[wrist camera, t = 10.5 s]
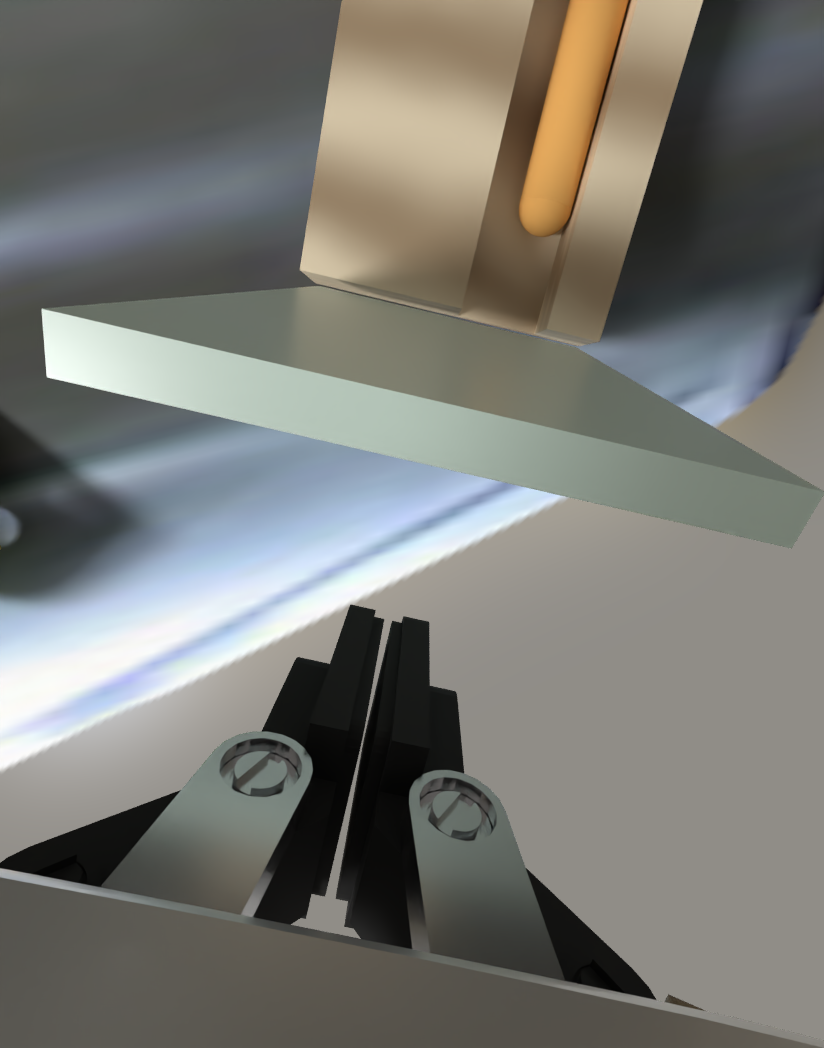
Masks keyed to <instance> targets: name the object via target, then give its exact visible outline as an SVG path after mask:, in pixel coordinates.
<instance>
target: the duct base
mask: <svg viewBox="0 0 824 1048" xmlns="http://www.w3.org/2000/svg"><path fill="white" fill-rule="evenodd" d="M569 1H570V0H342V3H341V10H340V16H339V23H338V29H337V35H336V42H335V48H334V55H333V61H332V67H331V74H330V80H329V87H328V93H327V99H326V106H325V112H324V119H323V125H322V131H321V138H320V144H319V151H318V157H317V163H316V170H315V176H314V183H313V189H312V195H311V202H310V208H309V215H308V221H307V227H306V234H305V240H304V246H303V253H302V259H301V266H300V270H301V271H302V272H303V273H304V274H305V275H307V276H308V277H309V278H310V279H311V280H312V281H314V282H315V283H317V284H321V285H325V286H329V287H333V288H338V289H342V290H346V291H350V292H354V293H359V294H363V295H367V296H371V297H375V298H379V299H384V300H388V301H392V302H396V303H400V304H405V305H409V306H413V307H417V308H421V309H425V310H430V311H434V312H438V313H442V314H446V315H450V316H455V317H459V318H463V319H467V320H471V321H476V322H480V323H484V324H488V325H492V326H496V327H501V328H505V329H509V330H513V331H517V332H522V333H526V334H530V335H534V336H538V337H542V338H547V339H551V340H555V341H559V342H563V343H568V344H572V345H576V346H582V345H586V344H591V343H596V342H600V338H601V335H602V332H603V328H604V325H605V322H606V319H607V315H608V312H609V309H610V305H611V302H612V299H613V296H614V292H615V289H616V286H617V282H618V279H619V276H620V272H621V269H622V266H623V263H624V259H625V256H626V253H627V249H628V246H629V243H630V240H631V236H632V233H633V230H634V226H635V223H636V220H637V217H638V213H639V210H640V207H641V203H642V200H643V197H644V193H645V190H646V187H647V184H648V180H649V177H650V174H651V170H652V167H653V164H654V161H655V157H656V154H657V151H658V147H659V144H660V141H661V138H662V134H663V131H664V128H665V124H666V121H667V118H668V114H669V111H670V108H671V105H672V101H673V98H674V95H675V91H676V88H677V85H678V82H679V78H680V75H681V72H682V68H683V65H684V62H685V59H686V55H687V52H688V49H689V45H690V42H691V39H692V35H693V32H694V29H695V26H696V22H697V19H698V16H699V12H700V9H701V6H702V3H703V0H628V4H627V8H626V11H625V15H624V19H623V22H622V26H621V30H620V33H619V37H618V41H617V45H616V48H615V52H614V56H613V59H612V63H611V67H610V70H609V74H608V78H607V81H606V85H605V89H604V92H603V96H602V100H601V103H600V107H599V111H598V114H597V118H596V122H595V125H594V129H593V133H592V136H591V140H590V144H589V147H588V151H587V155H586V158H585V162H584V166H583V169H582V173H581V177H580V181H579V184H578V188H577V192H576V195H575V199H574V203H573V206H572V210H571V213H570V216H569V219H568V220H567V222H566V224H565V225H564V226H563V227H562V228H561V229H560V230H559V231H558V232H556V233H555V234H553V235H550V236H547V237H537V236H534V235H532V234H530V233H529V232H528V231H526V230H525V228H524V227H523V225H522V223H521V221H520V217H519V203H520V199H521V195H522V191H523V187H524V183H525V179H526V175H527V171H528V167H529V163H530V159H531V155H532V150H533V146H534V142H535V138H536V134H537V130H538V126H539V122H540V118H541V114H542V110H543V106H544V102H545V98H546V94H547V90H548V86H549V82H550V78H551V74H552V70H553V66H554V62H555V58H556V54H557V50H558V46H559V42H560V38H561V34H562V30H563V26H564V22H565V17H566V13H567V9H568V5H569Z"/></svg>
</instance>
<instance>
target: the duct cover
mask: <svg viewBox="0 0 824 1048" xmlns="http://www.w3.org/2000/svg"><path fill="white" fill-rule="evenodd" d="M42 320H43V333H44V346H45V359H46V372H47V377H49V378H53V379H57V380H62V381H66V382H70V383H75V384H79V385H83V386H88V387H92V388H96V389H101V390H105V391H109V392H114V393H118V394H122V395H127V396H131V397H135V398H140V399H144V400H149V401H153V402H157V403H162V404H166V405H170V406H175V407H179V408H183V409H188V410H192V411H196V412H201V413H205V414H209V415H214V416H218V417H222V418H227V419H231V420H235V421H240V422H244V423H248V424H253V425H257V426H262V427H266V428H270V429H275V430H279V431H283V432H288V433H292V434H296V435H301V436H305V437H309V438H314V439H318V440H322V441H327V442H331V443H335V444H340V445H344V446H348V447H353V448H357V449H361V450H366V451H370V452H375V453H379V454H383V455H388V456H392V457H396V458H401V459H405V460H409V461H414V462H418V463H422V464H427V465H431V466H435V467H440V468H444V469H448V470H453V471H457V472H461V473H466V474H470V475H474V476H479V477H483V478H487V479H492V480H496V481H501V482H505V483H509V484H514V485H518V486H522V487H527V488H531V489H535V490H540V491H544V492H548V493H553V494H557V495H561V496H566V497H570V498H574V499H579V500H583V501H587V502H592V503H596V504H600V505H605V506H609V507H614V508H618V509H622V510H627V511H631V512H635V513H640V514H644V515H648V516H653V517H657V518H661V519H666V520H670V521H674V522H679V523H683V524H687V525H692V526H696V527H701V528H705V529H709V530H714V531H718V532H722V533H727V534H731V535H736V536H740V537H744V538H748V539H753V540H757V541H761V542H766V543H770V544H774V545H779V546H783V547H787V548H792V547H793V545H794V543H795V542H796V540H797V539H798V537H799V535H800V534H801V532H802V530H803V529H804V527H805V525H806V524H807V522H808V520H809V519H810V517H811V515H812V513H813V512H814V510H815V508H816V507H817V505H818V503H819V502H820V500H821V498H822V497H823V495H824V491H823V490H821V489H819V488H817V487H816V486H814V485H812V484H810V483H809V482H807V481H805V480H803V479H802V478H800V477H798V476H797V475H795V474H793V473H792V472H790V471H788V470H786V469H785V468H783V467H781V466H780V465H778V464H776V463H774V462H773V461H771V460H769V459H767V458H766V457H764V456H762V455H760V454H759V453H757V452H755V451H754V450H752V449H750V448H748V447H747V446H745V445H743V444H742V443H740V442H738V441H736V440H735V439H733V438H731V437H730V436H728V435H726V434H724V433H723V432H721V431H719V430H717V429H716V428H714V427H712V426H711V425H709V424H707V423H705V422H704V421H702V420H700V419H699V418H697V417H695V416H693V415H692V414H690V413H688V412H686V411H685V410H683V409H681V408H680V407H678V406H676V405H674V404H673V403H671V402H669V401H668V400H666V399H664V398H662V397H661V396H659V395H657V394H655V393H654V392H652V391H650V390H649V389H647V388H645V387H643V386H642V385H640V384H638V383H636V382H635V381H633V380H631V379H630V378H628V377H626V376H624V375H623V374H621V373H619V372H618V371H616V370H614V369H612V368H611V367H609V366H607V365H605V364H604V363H602V362H600V361H599V360H597V359H595V358H593V357H592V356H590V355H588V354H587V353H585V352H583V351H581V350H580V349H578V348H576V347H572V346H568V345H563V344H559V343H555V342H551V341H547V340H543V339H538V338H534V337H530V336H526V335H522V334H517V333H513V332H509V331H505V330H501V329H497V328H492V327H488V326H484V325H480V324H476V323H471V322H467V321H463V320H459V319H455V318H451V317H446V316H442V315H438V314H434V313H430V312H425V311H421V310H417V309H413V308H409V307H405V306H400V305H396V304H392V303H388V302H384V301H379V300H375V299H371V298H367V297H363V296H359V295H354V294H350V293H346V292H342V291H338V290H333V289H329V288H325V287H321V286H313V287H300V288H288V289H276V290H264V291H252V292H239V293H227V294H215V295H203V296H191V297H178V298H166V299H154V300H142V301H129V302H117V303H105V304H93V305H81V306H68V307H56V308H44V309H42Z"/></svg>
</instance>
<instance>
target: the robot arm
mask: <svg viewBox="0 0 824 1048" xmlns="http://www.w3.org/2000/svg"><path fill="white" fill-rule="evenodd" d="M374 615H375V610H373V609H368V608H363V607H359V606H355V605H350V607H349V610H348V613H347V616H346V619H345V622H344V625H343V628H342V631H341V633H340V637H339V639H338V642H337V645H336V648H335V651H334V654H333V657H332V660H331V663H330V664H327V663H323V662H318V661H314V660H309V659H304V658H300V657H298V658H296V660H295V662H294V664H293V666H292V668H291V670H290V672H289V675H288V677H287V679H286V681H285V683H284V685H283V687H282V689H281V691H280V693H279V696H278V698H277V700H276V702H275V704H274V706H273V709H272V711H271V713H270V715H269V717H268V719H267V721H266V723H265V725H264V727H263V730H262V732H249V733H244V734H239V735H237V736H235V737H232V738H230V739H228V740H226V741H224V742H223V743H222V744H221V745H220V746H219V747H217V748H216V749H215V750H214V751H213V752H212V754H211V755H210V756H209V757H208V759H207V760H206V761H205V762H204V763H203V764H202V766H201V767H200V768H199V769H198V770H197V772H196V773H195V774H194V775H193V777H192V778H191V779H190V780H189V781H188V783H187V784H186V785H185V786H184V787H183V789H182V790H180V791H178V792H175V793H172V794H169V795H167V796H164V797H161V798H159V799H156V800H153V801H151V802H148V803H145V804H143V805H140V806H137V807H135V808H132V809H129V810H127V811H124V812H121V813H119V814H116V815H113V816H110V817H108V818H105V819H103V820H100V821H97V822H95V823H92V824H89V825H86V826H84V827H81V828H78V829H76V830H73V831H70V832H68V833H65V834H63V835H60V836H57V837H54V838H52V839H49V840H47V841H44V842H41V843H38V844H36V845H33V846H30V847H28V848H26V849H24V850H22V851H20V852H18V853H16V854H14V855H12V856H10V857H8V858H6V859H5V860H4V861H2V862H1V863H0V1048H824V1040H821V1039H817V1038H813V1037H810V1036H806V1035H802V1034H798V1033H794V1032H790V1031H786V1030H782V1029H778V1028H774V1027H771V1026H767V1025H763V1024H759V1023H755V1022H751V1021H747V1020H743V1019H739V1018H735V1017H730V1016H725V1015H720V1014H716V1013H711V1012H707V1011H705V1010H703V1009H701V1008H698V1007H696V1006H694V1005H691V1004H689V1003H687V1002H685V1001H682V1000H680V999H678V998H675V997H673V996H671V995H669V994H668V996H667V998H666V1000H665V1002H662V1001H657V1000H656V998H655V997H654V995H653V994H652V992H651V990H650V989H649V987H648V986H647V985H646V984H645V982H644V981H643V980H642V979H641V978H640V977H639V976H638V975H637V973H636V972H635V971H634V970H633V969H632V968H631V967H630V966H629V965H628V964H627V963H626V962H625V961H624V960H623V959H622V958H620V957H619V956H618V955H617V954H616V953H615V952H614V951H613V950H612V949H611V948H610V947H609V946H608V945H607V944H606V943H604V941H603V940H601V939H600V938H599V937H598V936H597V935H596V934H595V933H594V932H593V931H592V930H591V929H590V928H589V927H588V926H587V925H586V924H585V923H583V922H582V921H581V920H580V919H579V918H578V917H577V916H576V915H575V914H574V913H573V912H572V911H571V910H570V909H569V908H568V907H567V906H566V905H564V904H563V903H562V902H561V901H560V900H559V899H558V898H557V897H556V896H555V895H554V894H553V893H552V892H551V891H550V890H549V889H548V888H547V887H545V886H544V885H543V884H542V883H541V882H540V881H539V880H538V879H537V878H536V877H535V876H534V875H533V874H532V873H531V872H530V871H529V870H528V869H526V868H525V865H524V862H523V860H522V857H521V854H520V851H519V848H518V845H517V842H516V840H515V837H514V834H513V831H512V828H511V826H510V822H509V820H508V817H507V814H506V811H505V809H504V807H503V806H502V804H501V802H500V800H499V798H498V797H497V796H496V795H495V794H494V793H493V792H492V791H491V790H490V789H489V788H488V787H487V786H485V785H484V784H482V783H481V782H480V781H478V780H477V779H475V778H473V777H471V776H468V775H466V774H464V766H463V756H462V745H461V734H460V723H459V712H458V702H457V694H456V692H455V691H451V690H447V689H442V688H438V687H433V686H430V682H429V681H430V680H429V622H427V621H422V620H418V619H413V618H409V617H403V620H402V623H399V622H395V621H392V624H391V628H390V632H389V636H388V640H387V644H386V648H385V653H384V657H383V661H382V665H381V670H380V674H379V678H378V682H377V686H376V690H375V695H374V699H373V703H372V707H371V711H370V716H369V720H368V725H367V729H366V733H365V737H364V742H363V747H362V752H361V759H360V764H359V770H358V775H357V781H356V787H355V792H354V798H353V803H352V809H351V814H350V820H349V826H348V832H347V837H346V843H345V849H344V854H343V860H342V865H341V871H340V876H339V882H338V888H337V894H336V899H340V900H345V901H348V906H347V913H346V919H345V925H344V926H345V927H349V928H354V930H355V931H356V932H357V934H358V935H359V936H360V938H361V939H358V938H353V937H349V936H343V935H339V934H334V933H328V932H324V931H319V930H314V929H308V928H303V927H299V926H294V925H290V924H292V923H293V922H295V921H297V920H298V919H300V918H305V919H306V915H307V911H308V907H309V902H310V898H311V894H315V895H320V896H325V894H326V890H327V886H328V882H329V878H330V873H331V869H332V865H333V861H334V856H335V852H336V848H337V844H338V840H339V835H340V831H341V827H342V823H343V818H344V814H345V810H346V806H347V802H348V797H349V793H350V789H351V785H352V780H353V776H354V772H355V768H356V764H357V759H358V755H359V751H360V746H361V741H362V737H363V732H364V728H365V722H366V717H367V711H368V706H369V700H370V694H371V689H372V684H373V678H374V672H375V667H376V661H377V656H378V650H379V645H380V640H381V634H382V629H383V622H384V619H381V618H377V617H374Z"/></svg>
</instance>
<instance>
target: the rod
mask: <svg viewBox="0 0 824 1048" xmlns="http://www.w3.org/2000/svg"><path fill="white" fill-rule="evenodd" d="M627 4H628V0H570V1H569V5H568V9H567V13H566V17H565V22H564V26H563V30H562V34H561V38H560V42H559V46H558V50H557V54H556V58H555V62H554V66H553V70H552V74H551V78H550V82H549V86H548V90H547V94H546V98H545V102H544V106H543V110H542V114H541V118H540V122H539V126H538V130H537V134H536V138H535V142H534V146H533V150H532V155H531V159H530V163H529V167H528V171H527V175H526V179H525V183H524V187H523V191H522V195H521V199H520V203H519V217H520V221H521V223H522V225H523V227H524V228H525V230H526V231H528V232H529V233H530V234H532V235H534V236H537V237H547V236H550V235H553V234H555V233H556V232H558V231H559V230H560V229H561V228H562V227H563V226H564V225H565V224H566V222H567V220H568V219H569V216H570V213H571V210H572V206H573V203H574V199H575V195H576V192H577V188H578V184H579V181H580V177H581V173H582V169H583V166H584V162H585V158H586V155H587V151H588V147H589V144H590V140H591V136H592V133H593V129H594V125H595V122H596V118H597V114H598V111H599V107H600V103H601V100H602V96H603V92H604V89H605V85H606V81H607V78H608V74H609V70H610V67H611V63H612V59H613V56H614V52H615V48H616V45H617V41H618V37H619V33H620V30H621V26H622V22H623V19H624V15H625V11H626V8H627Z"/></svg>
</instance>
